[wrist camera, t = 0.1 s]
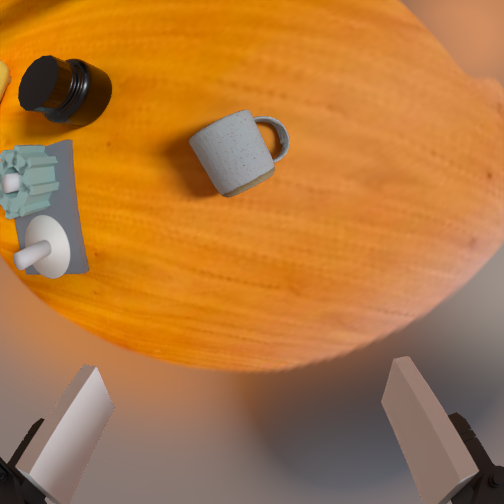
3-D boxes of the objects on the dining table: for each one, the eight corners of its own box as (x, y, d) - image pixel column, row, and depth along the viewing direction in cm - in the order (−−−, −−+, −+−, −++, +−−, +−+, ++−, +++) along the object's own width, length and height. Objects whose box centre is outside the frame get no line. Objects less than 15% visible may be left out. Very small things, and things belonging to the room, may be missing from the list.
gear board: (14, 156, 34) (-20, 160, 26) (72, 136, 34) (36, 134, 26) (32, 275, 40) (3, 294, 32) (90, 274, 40) (60, 297, 32)
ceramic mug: (225, 198, 36) (219, 206, 29) (194, 143, 34) (180, 137, 27) (299, 159, 35) (312, 157, 28) (268, 103, 33) (273, 88, 26)
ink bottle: (93, 57, 30) (47, 33, 19) (126, 86, 32) (81, 63, 20) (54, 108, 32) (2, 100, 21) (84, 140, 34) (31, 137, 23)
